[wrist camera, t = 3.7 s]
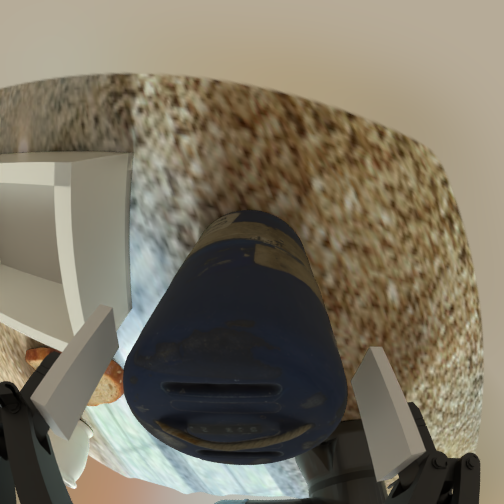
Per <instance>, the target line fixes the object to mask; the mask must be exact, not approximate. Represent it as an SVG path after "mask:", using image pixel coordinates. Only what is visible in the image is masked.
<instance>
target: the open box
mask: <svg viewBox="0 0 504 504" xmlns="http://www.w3.org/2000/svg"><path fill="white" fill-rule="evenodd" d="M132 163H133V153H129V152H106V151H43V152H22V153H8V154H0V322H2V323H3V324H5V325H7V326H9V327H11V328H13V329H14V330H16V331H18V332H20V333H22V334H24V335H26V336H28V337H30V338H32V339H34V340H37V341H39V342H41V343H43V344H45V345H47V346H50V347H52V348H54V349H57V350H59V351H61V352H63V350H64V349H65V348H66V346H67V345H68V344H69V342H70V341H71V340H72V339H73V337H74V336H75V335H76V333H77V332H78V331H79V330H80V328H81V327H82V326H83V325H84V323H85V322H86V321H87V320H88V318H89V317H90V316H91V315H92V313H93V312H94V311H95V310H96V309H97V307H98V306H99V305H100V304H102V305H105V306H109V307H113V313H114V320H115V326H116V331H117V330H118V328H119V327H120V325H121V324H122V322H123V321H124V320H125V318H126V317H127V315H128V314H129V312H130V311H131V309H132V301H131V284H130V258H129V219H130V192H131V176H132Z"/></svg>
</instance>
